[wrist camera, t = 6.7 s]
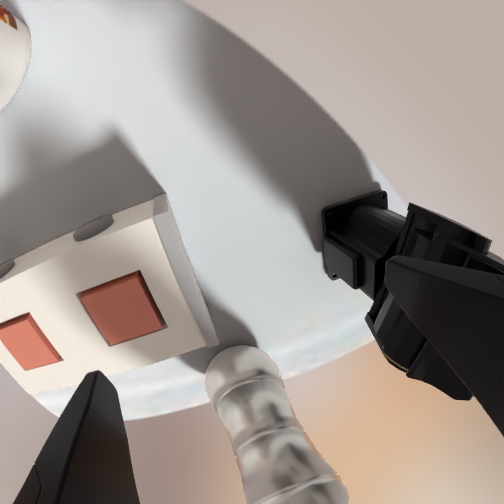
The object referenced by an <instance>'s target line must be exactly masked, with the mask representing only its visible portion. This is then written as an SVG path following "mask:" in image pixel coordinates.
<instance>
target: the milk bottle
mask: <svg viewBox="0 0 504 504" xmlns="http://www.w3.org/2000/svg"><path fill="white" fill-rule="evenodd" d="M30 55H31V37H30V33H29V30H28V28H27V27H26V25H25V24H24V23H23V22H21V21H20V20H19V19H18V18H17V17H15V16H14V15H13V14H11V13H10V12H9V11H7V10H6V9H5V8H3V7H2V6H0V111H1V110H3V109H4V108H5V106H6V105H7V104H8V103H9V102H10V101H11V99H12V98H13V96H14V95H15V93H16V92H17V90H18V88H19V86H20V85H21V83H22V81H23V79H24V76H25V74H26V71H27V68H28V64H29V61H30Z"/></svg>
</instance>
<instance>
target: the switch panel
mask: <svg viewBox="0 0 504 504" xmlns="http://www.w3.org/2000/svg"><path fill="white" fill-rule="evenodd" d="M138 270H140V271H141V273H142V275H143V277H144V279H145V282H146V284H147V286H148V288H149V290H150V292H151V294H152V296H153V298H154V300H155V302H156V304H157V306H158V308H159V310H160V312H161V318H162V328H161V329H158V330H155V331H152V332H149V333H146V334H143V335H140V336H137V337H133V338H130V339H127V340H124V341H121V342H118V343H115V344H111V345H110V343H109V342H108V340H107V339H106V337H105V336H104V334H103V333H102V331H101V330H100V328H99V327H98V325H97V324H96V322H95V321H94V319H93V317H92V316H91V314H90V313H89V311H88V309H87V308H86V306H85V304H84V303H83V301H82V299H81V297H82V294H83V291H84V290H87V289H89V288H92V287H95V286H97V285H100V284H103V283H105V282H108V281H111V280H113V279H116V278H119V277H121V276H124V275H127V274H129V273H132V272H135V271H138ZM27 312H30V314H31V315H32V317H33V319H34V320H35V321H36V323H37V324H38V326H39V327H40V329H41V330H42V332H43V333H44V334H45V336H46V337H47V339H48V340H49V341H50V343H51V344H52V345H53V347H54V348H55V349H56V350H57V352H58V353H59V354H60V356H59V359H58V361H57V362H53V363H50V364H46V365H42V366H39V367H35V368H31V369H27V370H24V369H23V368H22V367H21V366H20V364H19V363H18V362H17V361H16V360H15V358H14V357H13V356H12V355H11V353H10V352H9V351H8V350H7V348H6V347H5V346H4V344H3V343H2V342H1V340H0V363H1V364H2V365H3V366H4V367H5V369H6V370H7V371H8V372H9V373H10V374H11V375H12V377H13V378H14V379H15V380H16V381H17V382H18V383H19V384H20V385H21V386H22V387H23V388H24V390H25V391H26V392H27V393H28V394H35V393H40V392H45V391H49V390H54V389H59V388H63V387H68V386H72V385H76V384H80V383H81V382H82V380H83V378H84V377H85V375H86V374H87V373H89V372H92V371H96V370H100V371H101V372H102V373H103V374H104V375H105V376H106V377H108V376H111V375H115V374H119V373H122V372H126V371H129V370H133V369H136V368H140V367H143V366H146V365H150V364H153V363H156V362H159V361H162V360H166V359H169V358H172V357H175V356H178V355H181V354H184V353H187V352H190V351H193V350H196V349H199V348H202V347H204V346H207V347H208V349H209V348H211V347H214V346H217V345H220V343H219V340H218V337H217V334H216V332H215V329H214V326H213V323H212V320H211V317H210V314H209V311H208V308H207V305H206V303H205V300H204V298H203V295H202V293H201V290H200V288H199V285H198V282H197V280H196V277H195V274H194V272H193V269H192V266H191V264H190V261H189V258H188V255H187V253H186V250H185V247H184V244H183V242H182V239H181V236H180V233H179V230H178V227H177V224H176V221H175V218H174V216H173V213H172V210H171V207H170V203H169V200H168V197H167V194H166V193H164V194H161V195H158V196H155V197H154V199H152V200H149V201H146V202H143V203H141V204H138V205H135V206H133V207H130V208H128V209H125V210H122V211H120V212H117V213H115V214H112V215H105V216H102V217H99V218H96V219H94V220H92V221H90V222H88V223H86V224H85V225H83V226H81V227H80V228H79V229H77V230H74V231H72V232H70V233H68V234H65V235H63V236H61V237H59V238H57V239H54V240H52V241H50V242H48V243H46V244H44V245H42V246H40V247H38V248H36V249H34V250H32V251H30V252H28V253H26V254H24V255H22V256H20V257H18V258H16V259H14V260H13V259H10V260H8V261H6V262H4V263H3V264H1V265H0V323H3V322H5V321H7V320H10V319H12V318H15V317H17V316H20V315H22V314H25V313H27Z"/></svg>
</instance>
